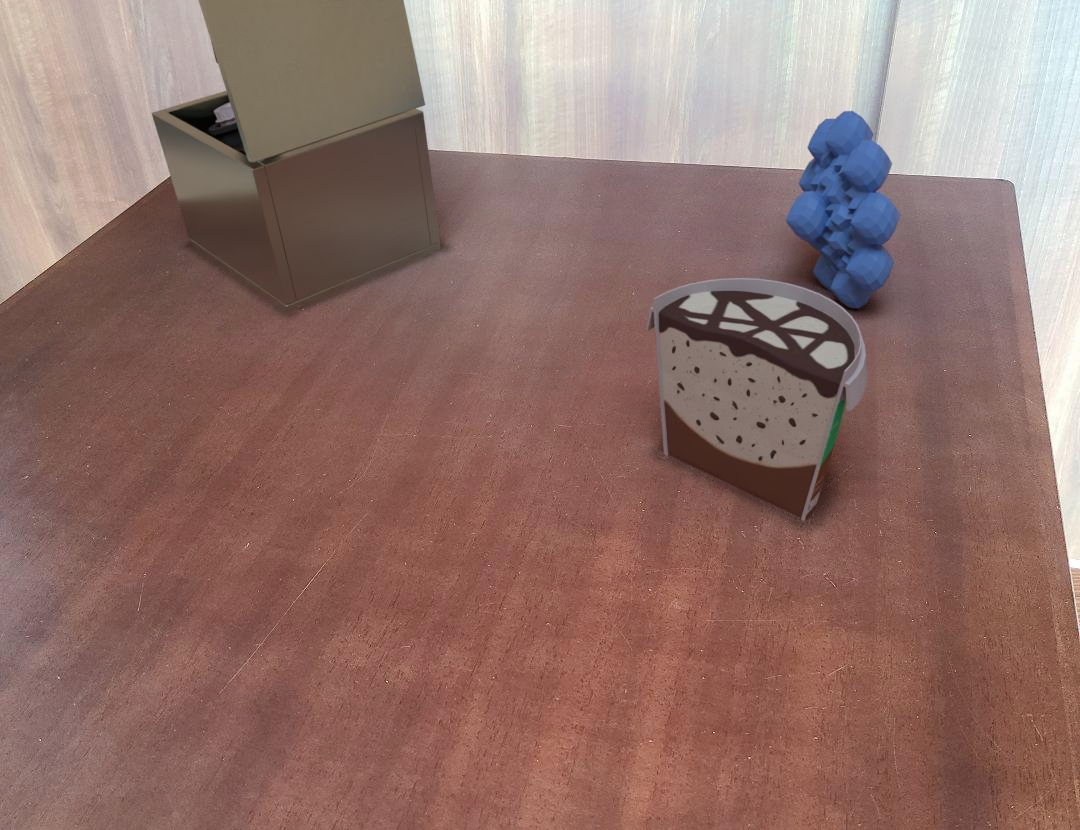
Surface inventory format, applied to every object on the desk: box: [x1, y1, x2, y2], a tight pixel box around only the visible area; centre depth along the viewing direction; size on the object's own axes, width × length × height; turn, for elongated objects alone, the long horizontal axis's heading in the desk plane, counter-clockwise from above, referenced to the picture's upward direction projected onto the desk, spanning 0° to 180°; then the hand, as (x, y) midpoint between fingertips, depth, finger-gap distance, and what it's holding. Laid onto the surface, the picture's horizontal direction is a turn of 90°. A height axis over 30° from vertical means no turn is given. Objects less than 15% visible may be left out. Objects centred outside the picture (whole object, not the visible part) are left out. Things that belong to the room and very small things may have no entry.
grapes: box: [785, 110, 901, 309], centre depth 69 cm, size 12×7×12 cm, turn 12°
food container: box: [645, 277, 868, 522], centre depth 56 cm, size 12×6×10 cm, turn 47°
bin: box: [151, 90, 442, 314], centre depth 79 cm, size 16×14×11 cm
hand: (267, 73), depth 74 cm, fingers open, 8 cm apart
